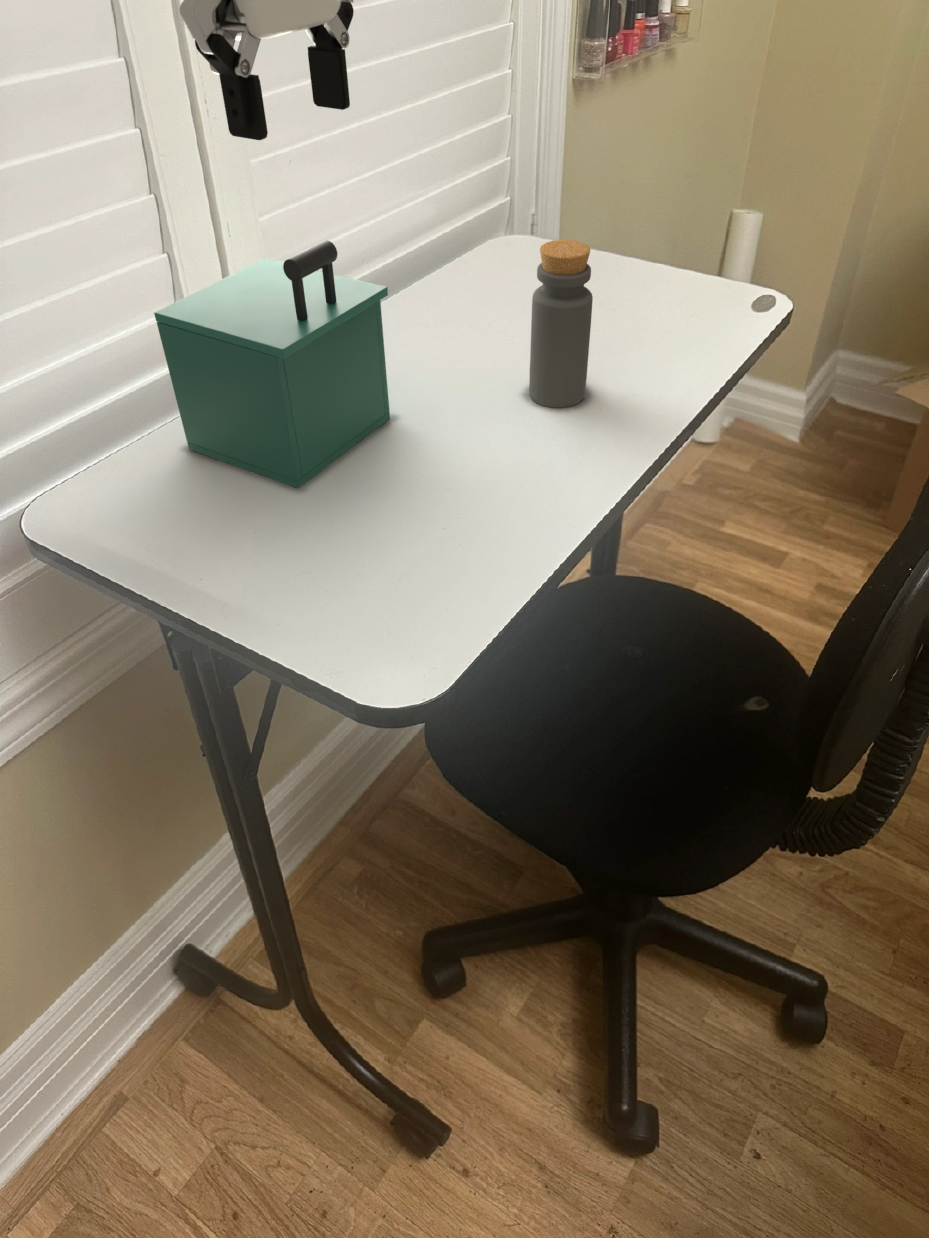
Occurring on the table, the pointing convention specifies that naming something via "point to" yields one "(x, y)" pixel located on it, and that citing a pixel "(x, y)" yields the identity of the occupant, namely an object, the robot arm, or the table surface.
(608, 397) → the table surface
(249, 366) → the lunchbox
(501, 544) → the table surface
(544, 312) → the bottle
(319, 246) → the lunchbox lid
